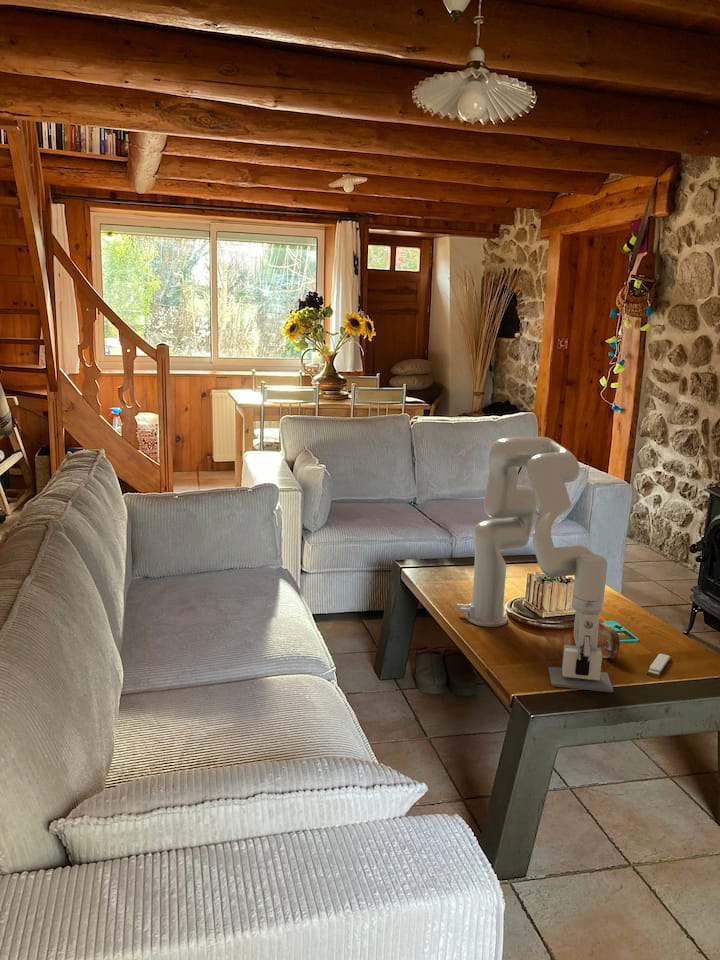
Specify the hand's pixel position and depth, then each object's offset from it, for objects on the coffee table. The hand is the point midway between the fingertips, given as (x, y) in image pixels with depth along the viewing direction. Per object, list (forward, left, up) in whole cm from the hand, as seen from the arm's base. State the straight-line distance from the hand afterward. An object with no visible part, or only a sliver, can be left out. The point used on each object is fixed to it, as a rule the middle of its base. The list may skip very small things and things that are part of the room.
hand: (580, 670), depth 194 cm
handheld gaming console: (+14, +36, -3) cm, 39 cm away
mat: (0, 0, -3) cm, 3 cm away
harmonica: (+22, +14, -4) cm, 26 cm away
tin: (+8, +20, -3) cm, 22 cm away
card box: (0, 0, -1) cm, 1 cm away
